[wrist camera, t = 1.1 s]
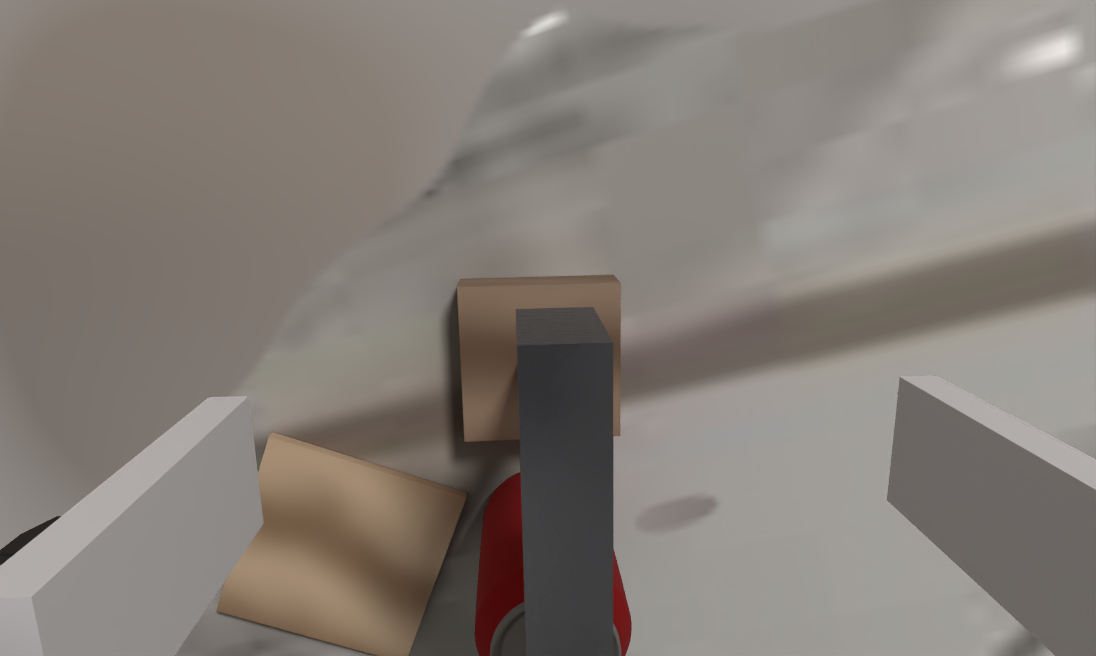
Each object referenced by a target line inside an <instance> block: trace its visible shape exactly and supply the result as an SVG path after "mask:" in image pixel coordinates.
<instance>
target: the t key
mask: <svg viewBox="0 0 1096 656" xmlns="http://www.w3.org/2000/svg"><path fill="white" fill-rule="evenodd" d="M516 339H517V371H518V404H519V436H520V469H521V504H522V536H523V568H524V601H525V633H526V656H613V341H612V339H611V337H610V336H609V334H608V332H607V330H606V329H605V327H604V325H603V323H602V322H601V320H600V318H599V316H598V314H597V313H596V311H595V309H594V307H569V308H535V309H516Z"/></svg>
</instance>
